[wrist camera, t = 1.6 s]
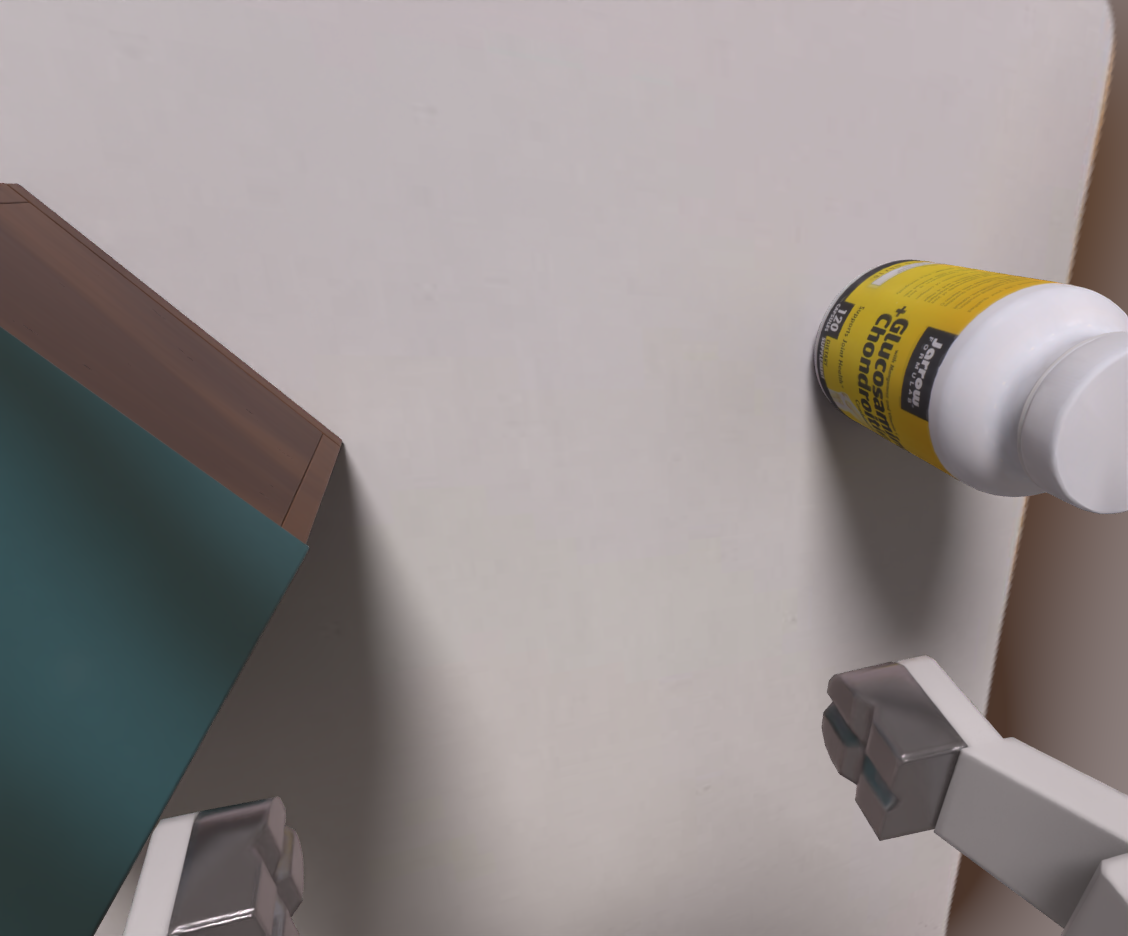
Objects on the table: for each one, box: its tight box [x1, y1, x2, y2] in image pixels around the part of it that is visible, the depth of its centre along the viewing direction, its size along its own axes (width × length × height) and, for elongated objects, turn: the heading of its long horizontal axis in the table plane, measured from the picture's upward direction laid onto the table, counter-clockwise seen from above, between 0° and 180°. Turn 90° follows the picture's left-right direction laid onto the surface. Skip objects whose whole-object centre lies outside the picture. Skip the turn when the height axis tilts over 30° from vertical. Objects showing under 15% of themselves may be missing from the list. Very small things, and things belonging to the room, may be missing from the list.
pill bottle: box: [814, 260, 1128, 514], centre depth 24 cm, size 6×6×12 cm
